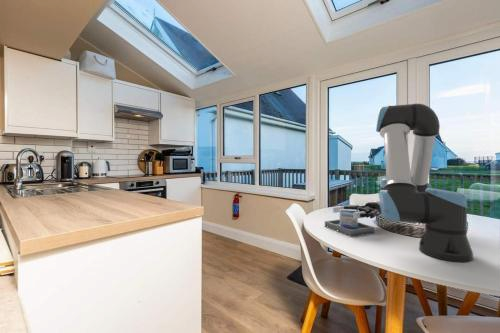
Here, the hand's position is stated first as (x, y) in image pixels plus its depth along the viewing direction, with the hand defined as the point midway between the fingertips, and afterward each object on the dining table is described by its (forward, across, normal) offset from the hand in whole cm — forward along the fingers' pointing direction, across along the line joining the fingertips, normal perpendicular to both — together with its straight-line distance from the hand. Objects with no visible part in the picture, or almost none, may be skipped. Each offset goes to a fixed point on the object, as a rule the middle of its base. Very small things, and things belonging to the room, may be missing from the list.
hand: (343, 212), depth 116 cm
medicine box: (-3, 0, -8) cm, 8 cm away
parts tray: (-3, 0, -8) cm, 9 cm away
